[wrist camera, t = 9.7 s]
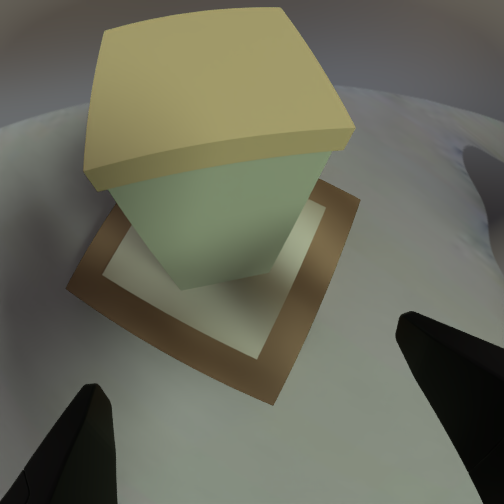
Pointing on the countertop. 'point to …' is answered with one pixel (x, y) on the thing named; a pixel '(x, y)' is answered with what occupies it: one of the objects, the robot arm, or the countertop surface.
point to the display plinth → (222, 297)
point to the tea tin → (211, 136)
